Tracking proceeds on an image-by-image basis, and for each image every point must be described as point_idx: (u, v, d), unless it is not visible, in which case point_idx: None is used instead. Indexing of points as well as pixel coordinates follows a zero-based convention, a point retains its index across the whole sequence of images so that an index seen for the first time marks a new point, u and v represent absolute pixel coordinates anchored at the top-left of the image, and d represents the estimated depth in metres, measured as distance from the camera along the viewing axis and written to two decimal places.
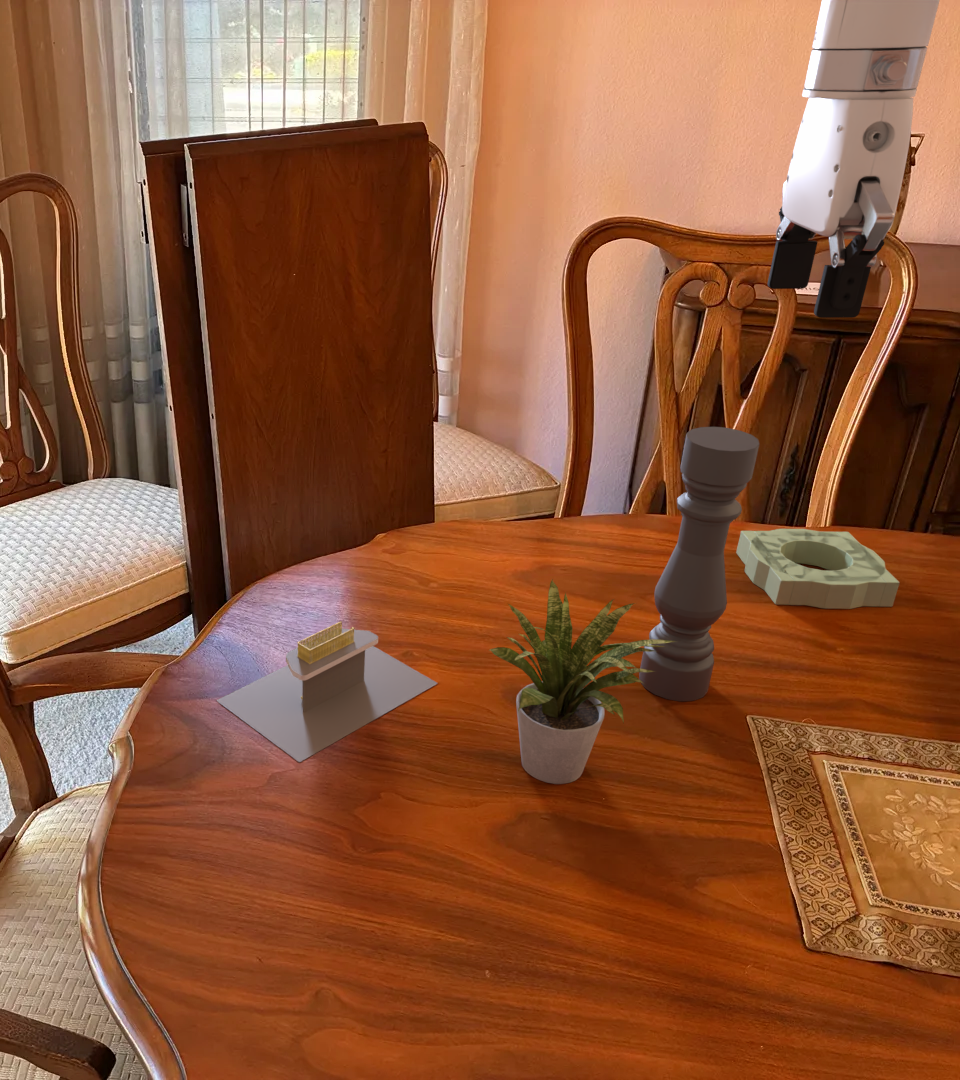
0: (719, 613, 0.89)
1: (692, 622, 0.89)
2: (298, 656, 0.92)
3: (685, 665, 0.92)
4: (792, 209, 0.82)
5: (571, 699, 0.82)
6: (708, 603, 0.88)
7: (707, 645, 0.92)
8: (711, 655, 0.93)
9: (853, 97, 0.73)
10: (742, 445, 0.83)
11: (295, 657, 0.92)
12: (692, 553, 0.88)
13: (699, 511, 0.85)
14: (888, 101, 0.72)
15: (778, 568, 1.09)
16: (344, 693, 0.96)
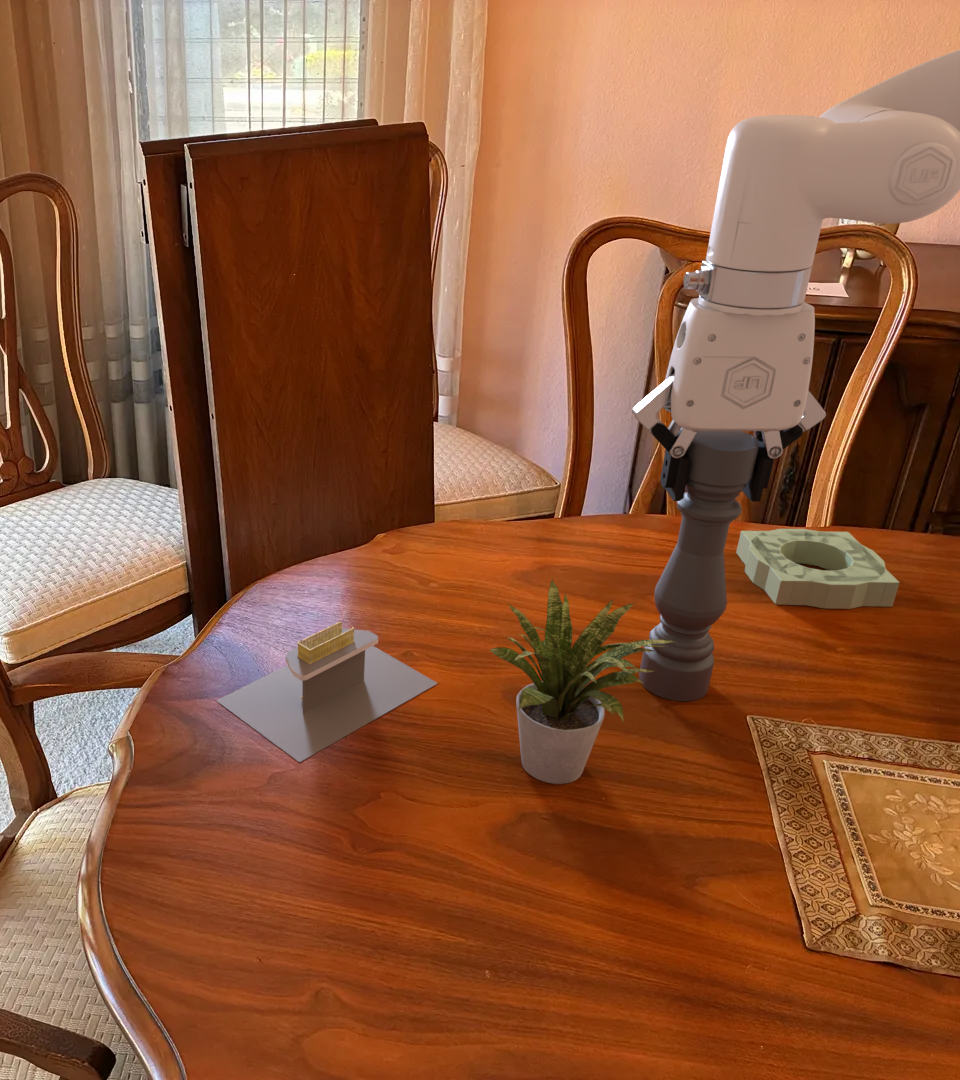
0: (719, 613, 0.89)
1: (692, 622, 0.89)
2: (298, 656, 0.92)
3: (685, 665, 0.92)
4: None
5: (571, 699, 0.82)
6: (708, 603, 0.88)
7: (707, 645, 0.92)
8: (711, 655, 0.93)
9: (699, 297, 0.81)
10: (742, 445, 0.83)
11: (295, 657, 0.92)
12: (692, 553, 0.88)
13: (699, 511, 0.85)
14: (692, 306, 0.79)
15: (778, 568, 1.09)
16: (344, 693, 0.96)
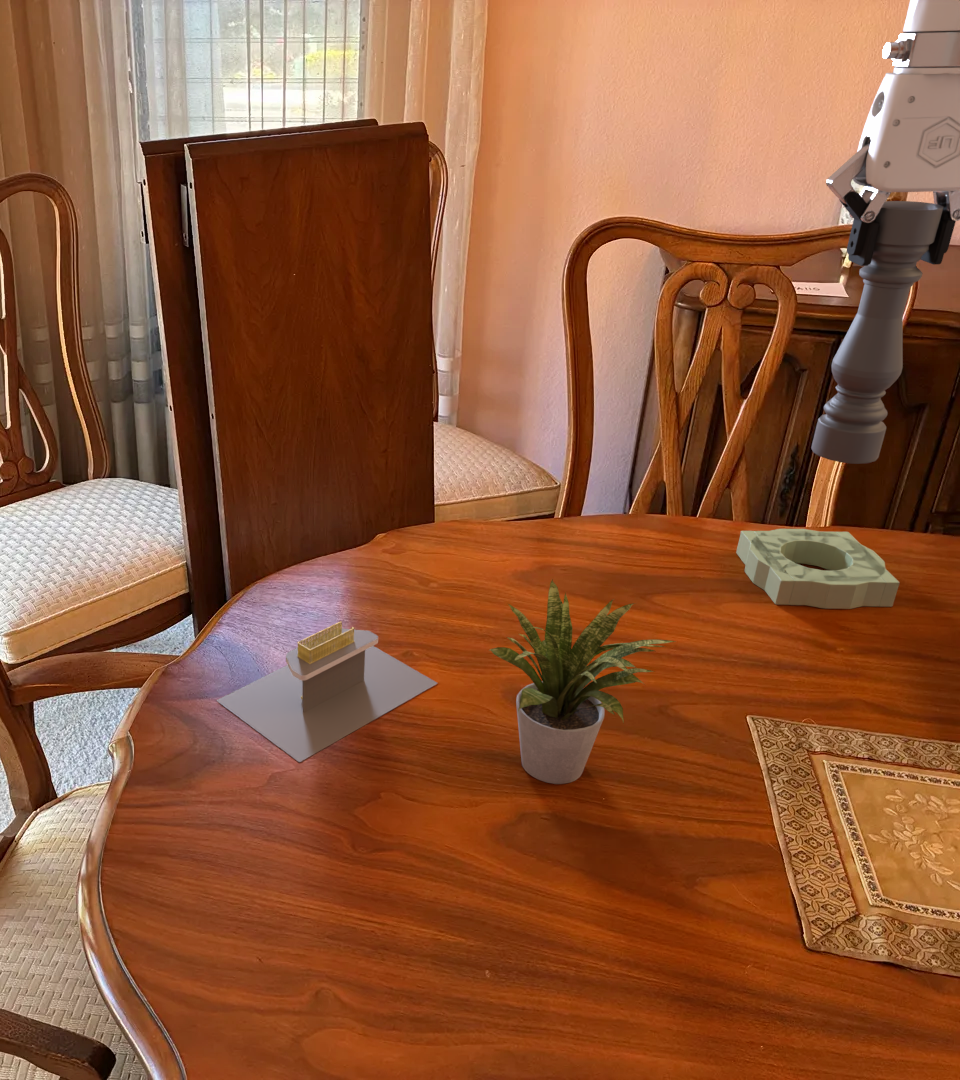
0: (897, 375, 0.99)
1: (872, 384, 0.99)
2: (298, 656, 0.92)
3: (862, 428, 1.01)
4: None
5: (571, 699, 0.82)
6: (888, 364, 0.98)
7: (882, 409, 1.01)
8: (882, 422, 1.03)
9: (893, 71, 0.91)
10: (928, 208, 0.92)
11: (295, 657, 0.92)
12: (875, 317, 0.97)
13: (885, 273, 0.95)
14: (890, 75, 0.89)
15: (778, 568, 1.09)
16: (344, 693, 0.96)
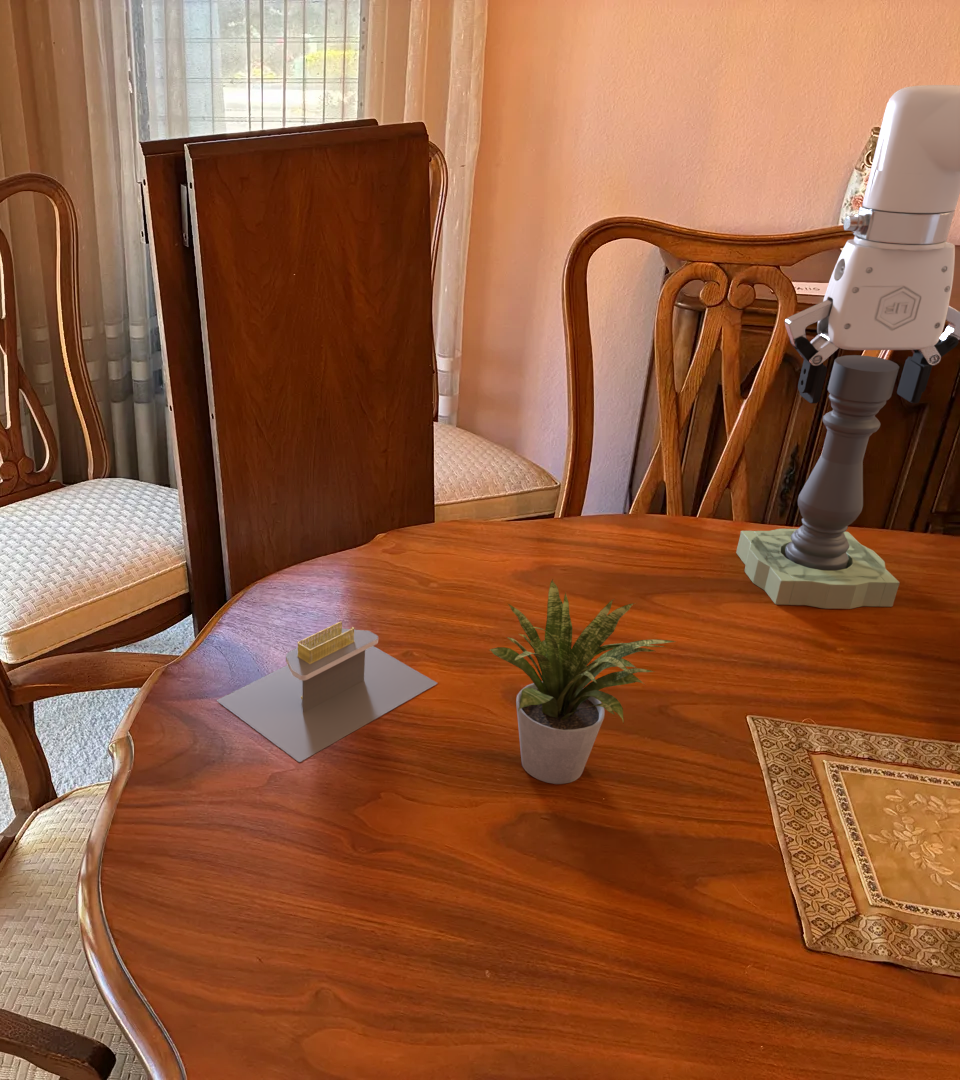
0: (857, 514, 1.06)
1: (834, 522, 1.06)
2: (298, 656, 0.92)
3: (825, 560, 1.08)
4: None
5: (571, 699, 0.82)
6: (849, 505, 1.05)
7: (844, 543, 1.08)
8: (845, 553, 1.10)
9: (854, 238, 0.97)
10: (885, 368, 0.99)
11: (295, 657, 0.92)
12: (837, 462, 1.04)
13: (845, 424, 1.02)
14: (850, 245, 0.96)
15: (778, 568, 1.09)
16: (344, 693, 0.96)
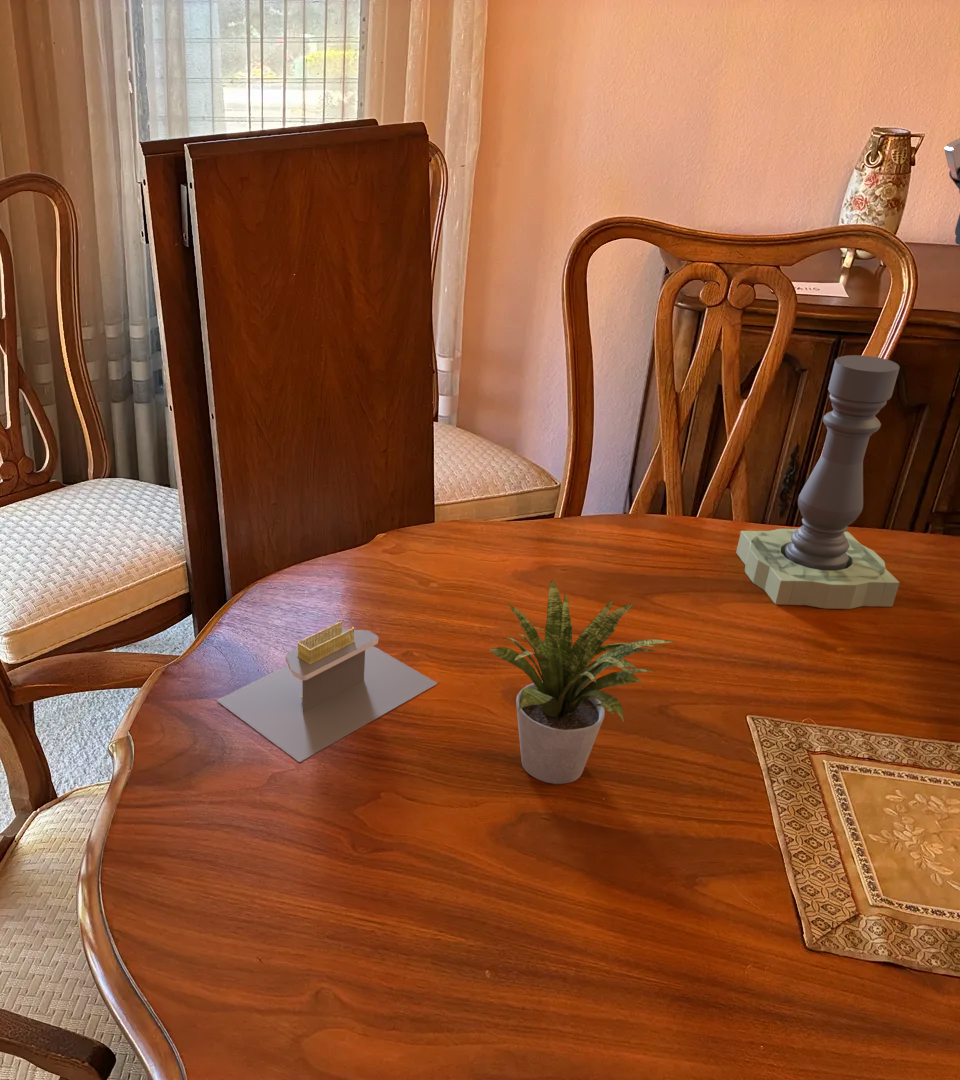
0: (857, 514, 1.06)
1: (834, 522, 1.06)
2: (298, 656, 0.92)
3: (825, 560, 1.08)
4: None
5: (571, 699, 0.82)
6: (849, 505, 1.05)
7: (844, 543, 1.08)
8: (845, 553, 1.10)
9: None
10: (886, 368, 0.99)
11: (295, 657, 0.92)
12: (837, 462, 1.04)
13: (845, 424, 1.02)
14: None
15: (778, 568, 1.09)
16: (344, 693, 0.96)
